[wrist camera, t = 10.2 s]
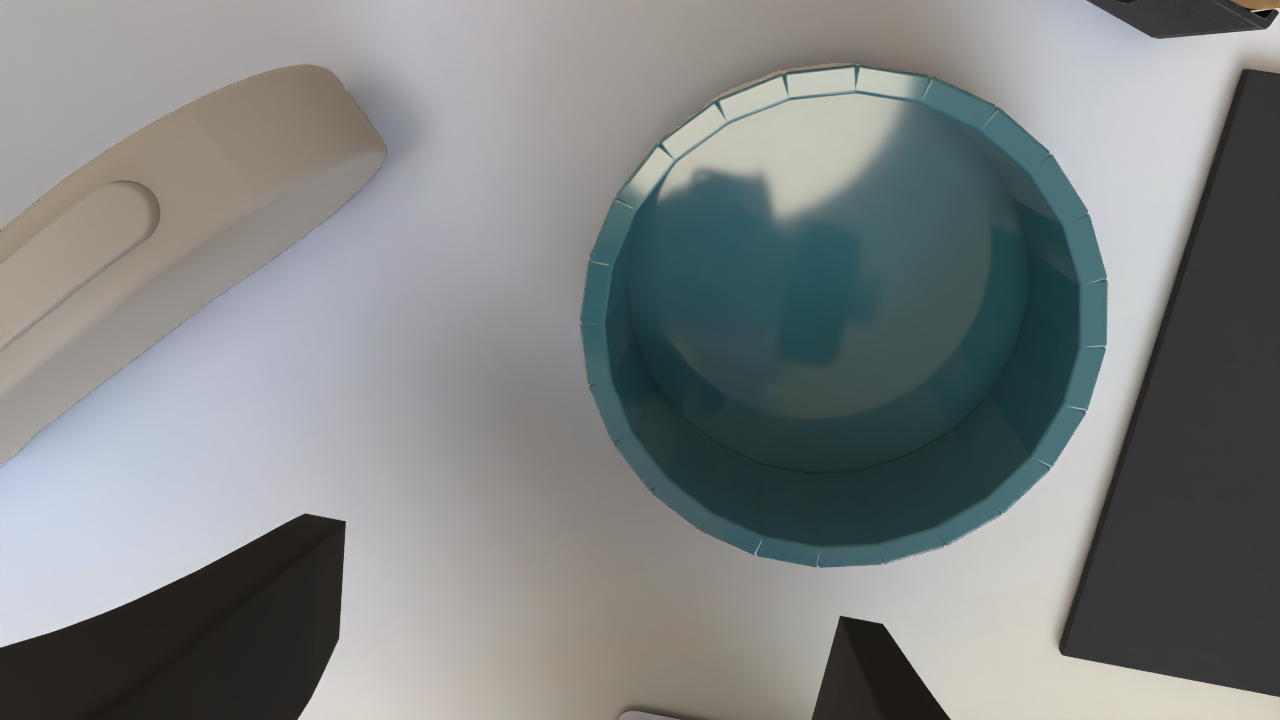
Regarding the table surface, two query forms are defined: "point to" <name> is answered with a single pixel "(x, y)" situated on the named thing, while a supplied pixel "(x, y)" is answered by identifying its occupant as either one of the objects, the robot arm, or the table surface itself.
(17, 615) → the table surface
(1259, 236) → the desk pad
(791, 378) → the teal round dish
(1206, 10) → the ammunition clip
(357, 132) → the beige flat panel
